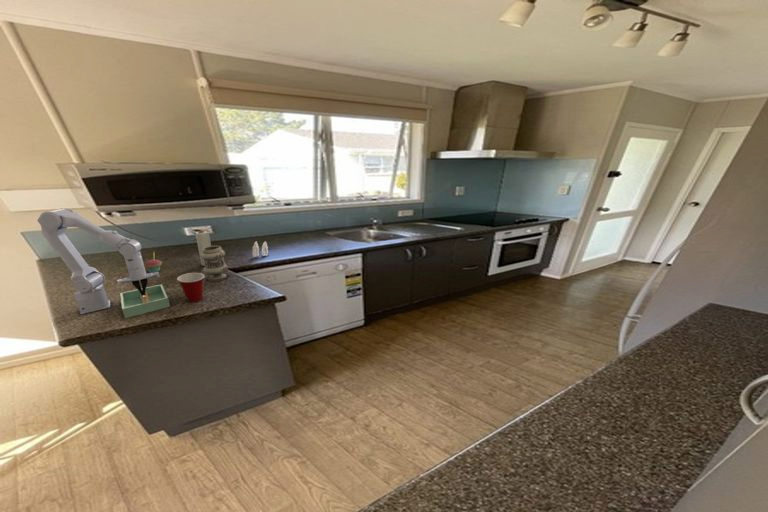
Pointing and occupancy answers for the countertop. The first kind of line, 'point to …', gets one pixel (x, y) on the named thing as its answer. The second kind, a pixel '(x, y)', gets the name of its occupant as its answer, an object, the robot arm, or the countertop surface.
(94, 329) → the countertop surface
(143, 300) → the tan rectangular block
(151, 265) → the cupcake
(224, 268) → the apothecary jar
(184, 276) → the plastic cup
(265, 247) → the shaker set
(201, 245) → the paper towel roll
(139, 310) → the bin
